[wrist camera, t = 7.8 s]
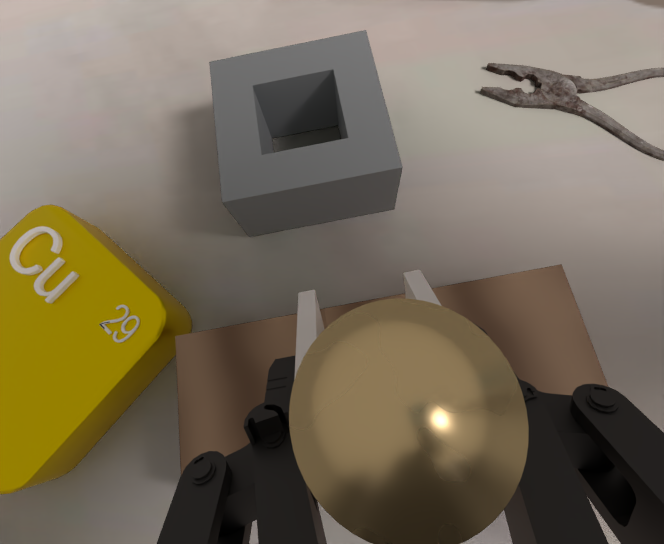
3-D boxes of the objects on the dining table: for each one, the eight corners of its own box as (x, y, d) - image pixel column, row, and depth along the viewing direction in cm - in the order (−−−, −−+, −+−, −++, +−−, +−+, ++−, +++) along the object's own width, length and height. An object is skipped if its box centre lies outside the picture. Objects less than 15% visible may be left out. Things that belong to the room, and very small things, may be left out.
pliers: (755, 168, 27) (483, 155, 29) (743, 174, 28) (479, 161, 30) (729, 66, 30) (481, 61, 32) (719, 74, 31) (478, 69, 33)
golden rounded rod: (401, 348, 22) (487, 280, 7) (417, 417, 21) (565, 529, 5) (337, 359, 22) (275, 319, 7) (349, 429, 21) (307, 571, 6)
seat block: (364, 91, 32) (365, 30, 27) (394, 209, 29) (402, 167, 23) (235, 117, 33) (209, 62, 27) (249, 236, 29) (222, 202, 23)
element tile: (-53, 353, 29) (-132, 348, 24) (87, 217, 31) (40, 189, 27) (56, 490, 25) (-11, 516, 21) (205, 324, 28) (174, 314, 23)
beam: (525, 285, 26) (561, 264, 22) (575, 430, 23) (630, 443, 19) (208, 343, 27) (175, 336, 22) (218, 492, 24) (183, 520, 19)
